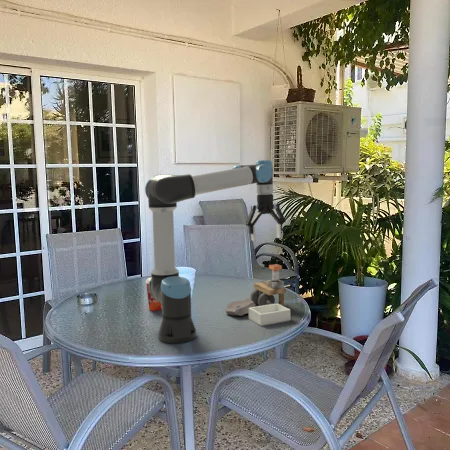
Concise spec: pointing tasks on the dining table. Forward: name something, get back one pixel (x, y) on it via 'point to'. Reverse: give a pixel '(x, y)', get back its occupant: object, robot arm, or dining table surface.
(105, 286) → the dining table surface
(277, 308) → the tray
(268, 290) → the trolley
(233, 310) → the stone
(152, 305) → the coffee cup
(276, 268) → the pin
